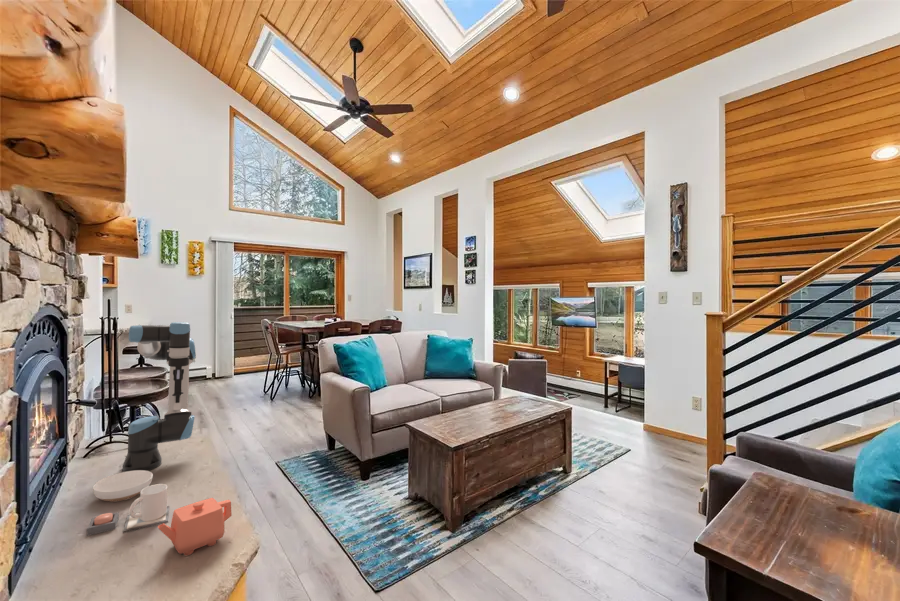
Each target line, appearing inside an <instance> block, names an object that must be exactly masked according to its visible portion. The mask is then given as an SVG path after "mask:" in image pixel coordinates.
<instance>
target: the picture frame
mask: <svg viewBox="0 0 900 601" xmlns="http://www.w3.org/2000/svg"><path fill="white" fill-rule="evenodd" d="M134 513H135V514H139V513H140V511H139V512H134ZM169 514H170V505H167V511H166V513H165V514H164V515H163V516H162V517H160V518H158V519H156V520H152V521H142V520H141V519H140V517H139V518H132V517H131V516H130V514H127V517H126V520H125V523H124V529H123V531H122V532H123V534H124V533H129V532H133V531H136V530H140V529H145V528H149V527H154V526H159V525H161V524H163V523H164V524H167V523H169Z"/></svg>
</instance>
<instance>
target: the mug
mask: <svg viewBox="0 0 900 601" xmlns="http://www.w3.org/2000/svg"><path fill="white" fill-rule="evenodd" d="M139 494H140V496H139V497H138V498H136V499H134V501H132V503H131V505H130V507H129V511H128V515H130V516H131V517H132V518H139V517H140V519H141V520H142V521H152V520H156V519H158V518H160V517H162V516H163V515H164V514H165V513H166V511H167V506H168V484H165V483H157V484H150V485H149V486H148V487H146V488H144V489H142V490H141V492H140V493H139ZM138 504H139V512H140V513H139V512H138V513H139V514H135V513H136V512H135V506H137V505H138Z"/></svg>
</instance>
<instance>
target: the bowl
mask: <svg viewBox="0 0 900 601" xmlns="http://www.w3.org/2000/svg"><path fill="white" fill-rule="evenodd" d="M153 477H154V473H153V472H152V471H150V470H148V471H145V470H135V471H127V472H123V471H121V472H117V473H113V474H111V475H108V476H105V477H104V478H102V479H100V480H97V482H95V483H94V484H93V486H92V492H93V494H94V496H95V498H96V499H99V500H101V501H105V502H106V501H107V502H113V503H114V502H115V503H116V502H122V501H126V500H129V499H132V498H134V497H136V496H138V495H139V494H140V492H141V490H142V489H144V488H146V487H148V486H151V483H152V481H153Z"/></svg>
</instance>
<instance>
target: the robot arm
mask: <svg viewBox="0 0 900 601" xmlns="http://www.w3.org/2000/svg"><path fill="white" fill-rule="evenodd" d="M190 333H191V324H190V322H187V321H186V322H184V321H175V322H174V321H173V322H171V323H170V324H162V325H161V324H158V325H156V324H155V325H152V324H150V325H149V324H148V325H146V324H145V325H144V324H143V325H142V324H139V325H136V324H135V325H130V327H129V328H128V342H130V343H136V344H137V348H136V349H137V353H139V354H140V355H141V356H142V357H145V358H147V359H150V360H155V361H166V364H167V365H168V367H169V376H168V378H169V379H168V380H169V382H168V383H169V384H168V404H167V406H168V407H167V412H166V413H165V414H164V416H163V418H160V417H158V416H156V415H154V416H153V415H152V416H146V417H142V418H138V419H135V420H133V421H132V422H131V423H129V425H128V431H127V435H128V436H127V437H128V438H127V454H126V456H125V459H124V461H123V464H122V471H121V472H127V471H135V470H145V471H151V470H153V469H156V468H157V467H159V466H161V464H162V460H163V458H162V455H161V453H160V451H159V449H158V448H159V444H163V443H171V442H176V441H183V440H188V439H190V438H191V437H192V433H193V429H194V428H193V427H194V424H195V423H194V422H195V418H196V416H195V415H193V414H192V411H191V410H190V409H189V388H190V386H189V382H190V365H191V364H192V363H193V361H194V360H195V359H196V358H197V356H196V355H197V354H196V345H195V341H194V339H193V338H191V334H190Z"/></svg>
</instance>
